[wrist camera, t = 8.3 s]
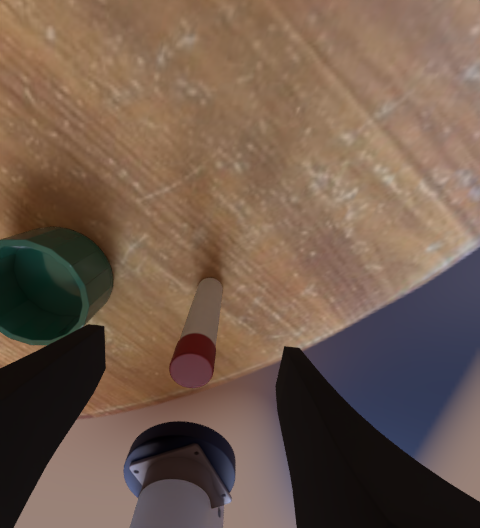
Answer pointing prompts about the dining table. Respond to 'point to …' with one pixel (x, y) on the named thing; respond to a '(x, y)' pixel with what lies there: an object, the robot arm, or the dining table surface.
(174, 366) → the marker
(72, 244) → the thermos cup
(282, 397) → the robot arm
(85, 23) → the dining table surface
